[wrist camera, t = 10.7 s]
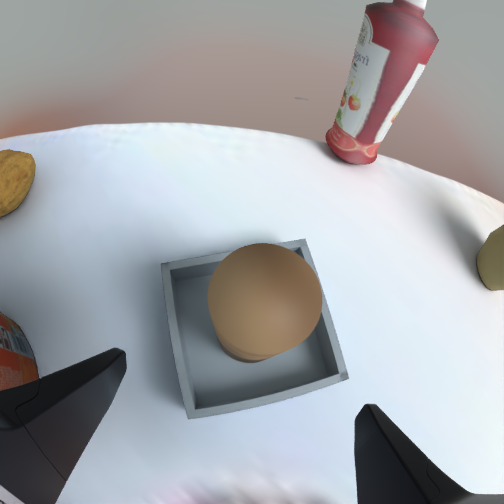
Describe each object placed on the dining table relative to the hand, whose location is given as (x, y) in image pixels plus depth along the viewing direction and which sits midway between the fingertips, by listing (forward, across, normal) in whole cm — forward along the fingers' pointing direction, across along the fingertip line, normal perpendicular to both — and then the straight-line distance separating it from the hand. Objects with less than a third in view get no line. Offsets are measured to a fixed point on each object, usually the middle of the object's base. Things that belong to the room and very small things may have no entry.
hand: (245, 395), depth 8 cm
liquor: (+28, -7, -12) cm, 31 cm away
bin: (+11, 0, +5) cm, 12 cm away
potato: (+16, +33, +1) cm, 37 cm away
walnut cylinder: (+11, 0, +4) cm, 12 cm away
